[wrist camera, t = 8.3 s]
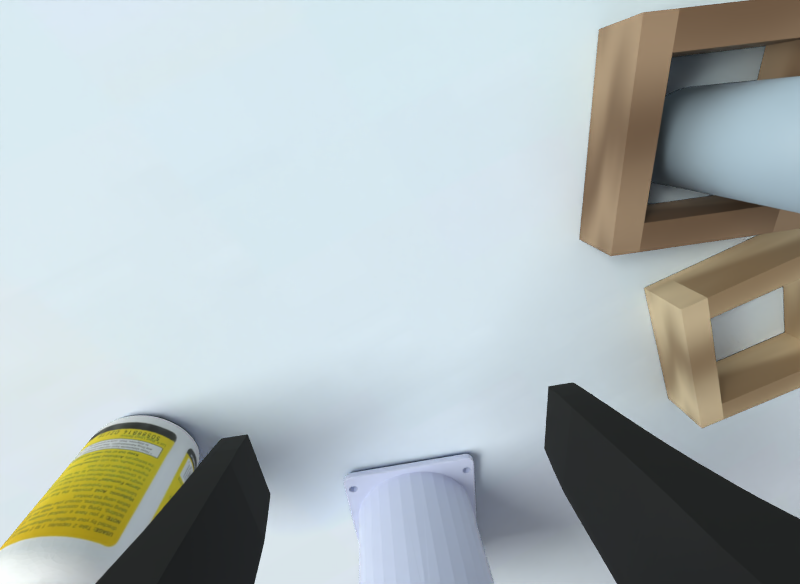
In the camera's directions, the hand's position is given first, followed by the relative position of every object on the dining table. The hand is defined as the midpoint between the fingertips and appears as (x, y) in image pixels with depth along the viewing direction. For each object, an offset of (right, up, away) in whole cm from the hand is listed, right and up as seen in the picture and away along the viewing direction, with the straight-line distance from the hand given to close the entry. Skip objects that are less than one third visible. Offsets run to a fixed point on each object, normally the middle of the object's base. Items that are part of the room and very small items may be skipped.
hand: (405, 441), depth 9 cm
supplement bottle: (-14, -5, +12) cm, 19 cm away
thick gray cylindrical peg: (+12, +10, +8) cm, 18 cm away
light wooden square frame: (+18, +2, +12) cm, 22 cm away
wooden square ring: (+12, +11, +7) cm, 18 cm away
